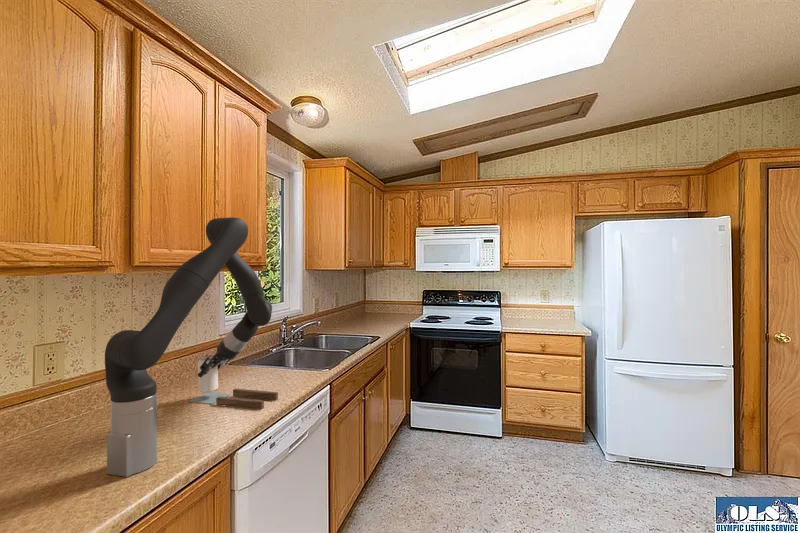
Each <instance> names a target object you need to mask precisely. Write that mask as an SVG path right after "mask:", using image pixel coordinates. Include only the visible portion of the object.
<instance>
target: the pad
mask: <svg viewBox="0 0 800 533" xmlns="http://www.w3.org/2000/svg"><path fill="white" fill-rule="evenodd" d="M229 395H230V396H231V395H232V394H231V393H226V392H225V393H223V392H214V391H212V392H206V393H203V394H201V395H199V396H196V397H194V398H192V399H190V400H188V401H187V402H188V403H195V404H204V405H205V404H206V405H214V404H216V398H217V397H219V396H220V397H227V396H228V397H230V396H229Z"/></svg>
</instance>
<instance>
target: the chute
mask: <svg viewBox="0 0 800 533" xmlns="http://www.w3.org/2000/svg"><path fill="white" fill-rule="evenodd" d="M233 396H234V397H233ZM265 400H268V401H277V400H279V392H278V391H270V390H269V391H267V390H259V389H257V390H256V389H255V390H254V389H245V388H244V389H243V388H233V389H232V397H231V396H228V397H220V396H219V397H217V398H216V403H215V404H216V406H221V405H225V406H224V407H231V406H233V408H241V407H242V409H250V410H251V409H252V410H253V409H254V410H261V409H262V410H263V409H264V408H265Z"/></svg>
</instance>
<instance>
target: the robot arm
mask: <svg viewBox="0 0 800 533" xmlns="http://www.w3.org/2000/svg"><path fill="white" fill-rule="evenodd" d="M205 235H206V238H207V240H208V241H209V243H210V245H209V246H208V247H207V248H205V249H204V250H202V251H200V252H199V253H198V254H195V255H193V256H192V257H191V258H190V259H187V260H186V261H185V262H183V263H182V264H181V265H180V266H179V267H178V268H177V269H176V270H175V272H174V273H173V274H172V275H171V277H169V279H168V280H167V281H166V283H165V285H164V287H163V289H162V293H161V298H160V304H159V306H158V308H157V310H156V312H155V313H154V315H153V316H152V318H150V320H149V321H148V322H147V324H146V325H145V326H144V327H143V328H142V329H141V330H133V329H127V330H125V329H124V330H121V331H118V332H117V333H115V334H114V335H112V336H111V337H110V339H109V340H108V342H107V344H106V345H105V346H106V347H105V351H104V369H105V370H104V371H105V372H104V373H105V381H106V382H105V383H106V388H107V390H108V392H109V395H110V432H108V433H107V434H106V474H107V475H111V476H112V475H113V476H119V477H125V478H128V477H130V476H132V475H134V474H137V473H141V472H143V471H146V470H149V469H150V468H151V467H153V466H154V465H155V464H157V462H158V427H157V426H158V418H157V417H158V416H157V415H158V414H157V413H158V410H157V409H158V408H157V406H158V405H157V403H158V401H157V400H158V399H157V398H158V394H157V391H158V390H157V382H156V381H155V379H153V378H152V377H151V376H150V375H149V373H148V371H147V370H148V369H150V368H152V367H153V366H154V365H156V364H157V363H158V362H159V360H160V359H161V358H162V356H163V355H164V354H165V352H166V350H167V348H168V347H169V345H170V344H171V341H172V339H173V338H174V336H175V335H176V333H177V331H178V330H179V328H180V326H181V325H182V324H183V322H184V321H185V319H186V318H187V317H188V315H189V313H190V312H191V311H192V309H193V308H194V307H195V306H196V304H197V302H198V301H199V300H200V299H201V298H202V296H203V295H204V294H205V292H206V291H207V289H208V288H209V287H210V285H211V283H212V282H213V280H215V278H216V277H217V275H218V274H219V273H220V271H221V270H222V269H223V267H225V266H226V268H227V269H228V271H229V273H230V275H231V276H232V278H233V280H234V282H235V283H236V286H237V288H238V290H239V293H240V294H241V297H242V299H243V301H244V305H245V310H246V312H245V313H244V315H243V317H242V318H241V320H240V321H239V322H237V324H236V325H235V326H234V328H232V329H231V331H229V332H227V334H226V335H225V337H224V338H222V340H221V341H220V342H219V344H218V345H217V346H216V352H215V353H214V354H213V355H212V356H213V357H212V358H211V359H210V358H209V357H208V358H206V360H205V361H204V362H203V364H202V365H201V367H200V369H201V372H200V373H198V372H197V377H198V376H199V377H200V378H201V377H202V376H203V375H205V374H207V373H208V372H209V371H210V370H211V369H212V368H215V367H217V366H218V370H219V369H221V368H222V367H223V366H226V365H227V364H228V363H229V362H230V361H231V360H234V359H235V358H236V357H237V356H238V355H239V354H240V352H241V351H243V349H244V348H245V347H246V346H247V344H248V343H249V341H251V339H252V338H253V337H254V336H255V335H256V333H257V332H258V329H259V327H263V326H267V325H268V324H269V323H270V321H271V318H272V313H273V305H272V303H271V302H270V301H269V299H266V298H265V296H264V289H263V286H262V283H261V281H260V279H259V277H258V275H257V274H256V272H255V270H254V269H253V268H252V267H251V266H250V265H249V264H248V263H247V262H246V261H245V260H244V258H242V257H241V256H240V254H239V253H238V250H239V249H241V247H243V245H244V244H245V242H246V241H247V238H248V235H249V226H248V224H247V222H246V221H245V220H244V219H242V218H239V217H233V216H231V217H217V218H216V217H215V218H212V219H211V220H209V221H208V223H207V224H206V226H205ZM212 363H214V364H215V365H213V364H212ZM209 367H210V368H209Z"/></svg>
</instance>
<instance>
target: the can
mask: <svg viewBox="0 0 800 533" xmlns="http://www.w3.org/2000/svg"><path fill="white" fill-rule="evenodd" d="M208 357H209V358H210V359H211V358H212V357H213V355H203V356H202V357H199V358H198V362H197V374H198V373H200V372H201V369H200V367H201V365H202V364H203V362H204V361H205V360H206V358H208ZM212 364H213V365H215V364H214V363H212ZM209 368H210V367H209ZM197 378H198V380H197V382H198V391H199V392H200V393H203V394H205V393H207V392H214V391H216V390H218V388H219V369H218V366H217V367H215V368H212V369H211V370H210V371H209V372H208V373H207V374H205V375H203V376H202V377H201V378H200V377H199V376H198V375H197Z"/></svg>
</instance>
